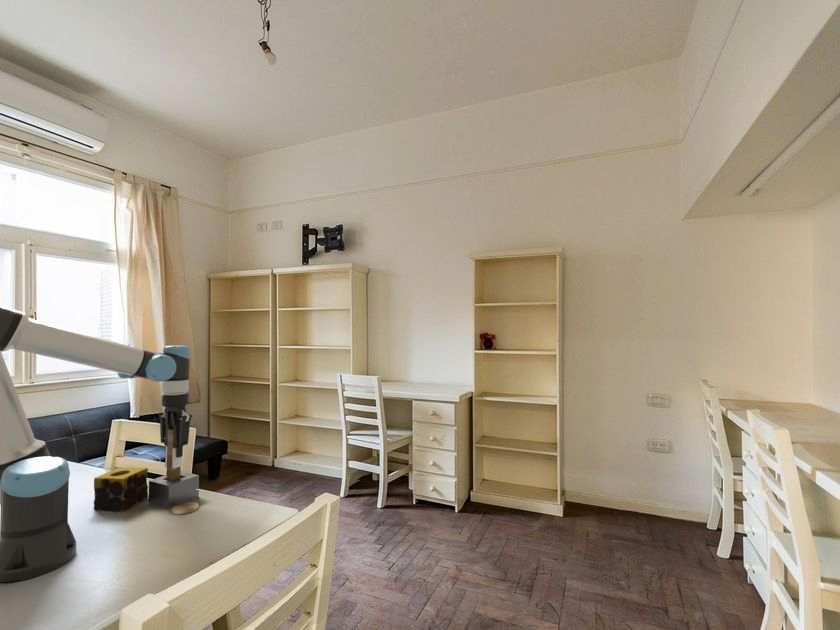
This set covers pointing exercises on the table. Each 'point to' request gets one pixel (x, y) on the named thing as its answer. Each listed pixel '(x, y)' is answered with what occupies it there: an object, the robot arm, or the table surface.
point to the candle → (120, 489)
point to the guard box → (173, 490)
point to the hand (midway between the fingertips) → (173, 466)
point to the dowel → (176, 472)
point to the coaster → (185, 508)
